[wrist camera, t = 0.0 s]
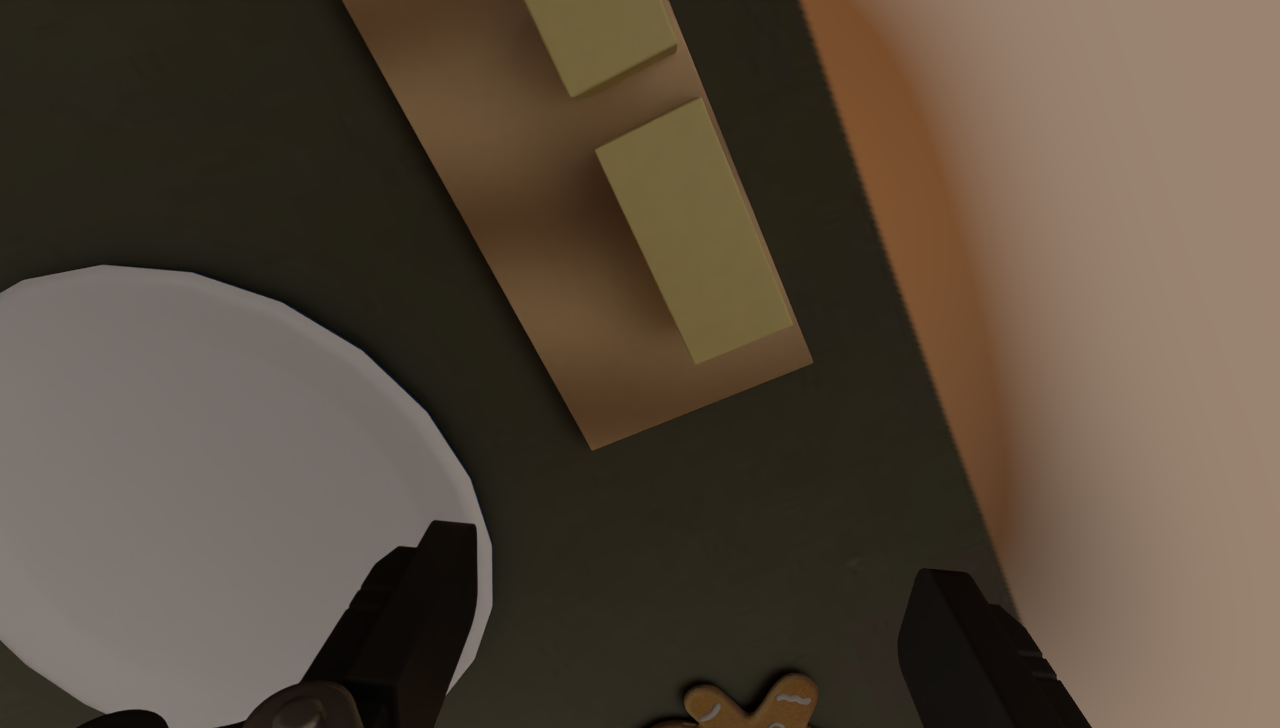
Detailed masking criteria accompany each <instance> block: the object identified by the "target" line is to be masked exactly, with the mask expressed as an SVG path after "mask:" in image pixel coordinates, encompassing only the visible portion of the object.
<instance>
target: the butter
mask: <svg viewBox="0 0 1280 728" xmlns="http://www.w3.org/2000/svg"><path fill="white" fill-rule="evenodd" d="M594 152H595V154H596V156H597V158H598V160H599V163H600V165H601V167H602V169H603V171H604V173H605V175H606V177H607V180H608V182H609V184H610V186H611V188H612V190H613V192H614V195H615V197H616V199H617V201H618V203H619V205H620V207H621V209H622V212H623V214H624V216H625V218H626V220H627V222H628V224H629V226H630V229H631V231H632V233H633V235H634V237H635V239H636V241H637V244H638V246H639V248H640V250H641V252H642V254H643V256H644V258H645V261H646V263H647V265H648V267H649V269H650V271H651V273H652V275H653V278H654V280H655V282H656V284H657V286H658V288H659V290H660V293H661V295H662V297H663V299H664V301H665V303H666V305H667V307H668V310H669V312H670V314H671V316H672V318H673V320H674V322H675V324H676V327H677V329H678V331H679V333H680V335H681V337H682V339H683V342H684V344H685V346H686V348H687V350H688V352H689V354H690V356H691V359H692V361H693V363H694V364H695V365H697V364H700V363H702V362H705V361H707V360H710V359H712V358H714V357H717V356H719V355H722V354H724V353H727V352H729V351H732V350H734V349H736V348H739V347H741V346H744V345H746V344H749V343H751V342H753V341H756V340H758V339H761V338H763V337H766V336H768V335H770V334H773V333H775V332H778V331H780V330H783V329H785V328H787V327H790V326H792V325H793V323H792V320H791V318H790V315H789V313H788V310H787V308H786V305H785V303H784V300H783V298H782V295H781V293H780V291H779V288H778V286H777V283H776V281H775V278H774V276H773V273H772V271H771V268H770V266H769V263H768V261H767V258H766V256H765V253H764V251H763V248H762V246H761V243H760V241H759V239H758V236H757V234H756V231H755V229H754V226H753V224H752V221H751V219H750V216H749V214H748V211H747V209H746V206H745V204H744V201H743V199H742V196H741V194H740V191H739V189H738V186H737V184H736V182H735V179H734V177H733V174H732V172H731V169H730V167H729V164H728V162H727V159H726V157H725V154H724V152H723V149H722V147H721V144H720V142H719V139H718V137H717V134H716V132H715V130H714V127H713V125H712V122H711V120H710V117H709V115H708V112H707V110H706V107H705V105H704V102H703V100H702V98H701V97H694V98H692V99H690V100H688V101H686V102H684V103H682V104H680V105H678V106H676V107H674V108H672V109H670V110H668V111H666V112H664V113H662V114H660V115H658V116H656V117H654V118H652V119H650V120H648V121H646V122H644V123H642V124H640V125H638V126H636V127H634V128H632V129H630V130H628V131H626V132H624V133H622V134H620V135H618V136H616V137H614V138H612V139H610V140H608V141H606V142H604V143H603V144H601V145H600V146H598V147H597V148H596V149H595V150H594Z"/></svg>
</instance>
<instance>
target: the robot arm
mask: <svg viewBox="0 0 1280 728" xmlns="http://www.w3.org/2000/svg"><path fill="white" fill-rule="evenodd" d="M477 596H478V567H477V528H476V525H475V524H471V523H461V522H451V521H440V520H433V521H432V522H431V523H430V525H429V526H428V528H427V530H426V532H425V534H424V535H423V537H422V539H421V541H420V542H419V544H418V546H417V547H407V546H398V547H396V548H395V549H394V550H393V551H391V552H390V553H389V554H387V555H386V556H385V557H383V558H382V559H381V560H379V561H378V562H377V563H375V565H374V566H373V568H372V569H371V571H370V572H369V574H368V576H367V577H366V579H365V580H364V582H363V583H362V585H361V589H360V590H358V591H357V593H356V594H355V596H354V598H353V599H352V601H351V602H350V604H349V608H348V609H346V610H345V612H344V613H343V615H342V617H341V618H340V620H339V621H338V623H337V624H336V626H335V628H334V629H333V631H332V632H331V634H330V635H329V637H328V639H327V640H326V642H325V643H324V645H323V646H322V648H321V650H320V651H319V653H318V654H317V656H316V657H315V659H314V661H313V662H312V664H311V665H310V667H309V668H308V670H307V672H306V673H305V675H304V676H303V678H302V679H301V681H300V682H299V683H297V684H294V685H291V686H289V687H286V688H284V689H282V690H280V691H278V692H276V693H274V694H273V695H271V696H270V697H268V698H267V699H265V700H264V701H263V702H262V703H260V704H259V705H258V706H257V707H256V708H255V709H254V710H253V711H252V713H251V714H250V715H249V716H248V718H247V719H246V720H244V721H241V722H238V723H234V724H230V725H226V726H220V727H215V728H434V725H435V723H436V720H437V717H438V715H439V712H440V709H441V707H442V704H443V701H444V699H445V696H446V693H447V691H448V688H449V686H450V683H451V680H452V678H453V675H454V672H455V670H456V667H457V664H458V662H459V659H460V656H461V654H462V651H463V648H464V646H465V643H466V640H467V638H468V635H469V632H470V630H471V627H472V624H473V620H474V616H475V611H476V605H477ZM898 658H899V664H900V668H901V671H902V674H903V676H904V679H905V681H906V684H907V686H908V689H909V691H910V694H911V696H912V699H913V701H914V704H915V706H916V709H917V711H918V714H919V716H920V719H921V721H922V724H923V726H924V728H1092V727H1091V726H1090V724H1089V723H1088V721H1087V720H1086V718H1085V717H1084V715H1083V714H1082V712H1081V711H1080V709H1079V708H1078V706H1077V705H1076V703H1075V702H1074V700H1073V699H1072V697H1071V696H1070V695H1069V693H1068V691H1067V690H1066V688H1065V687H1064V685H1063V684H1062V682H1061V681H1060V680H1057V678H1056V676H1057V675H1056V673H1055V672H1054V670H1053V669H1052V667H1051V666H1050V665H1049V663H1048V661H1047V660H1046V659H1043V657H1042V652H1041V651H1040V649H1039V648H1038V646H1037V645H1036V643H1035V642H1034V640H1033V639H1032V637H1031V636H1030V634H1029V633H1028V631H1027V630H1026V628H1025V627H1023V626H1022V625H1021V624H1020V623H1019V622H1018V621H1017V620H1015V619H1014V618H1013V617H1012V616H1011V615H1010V614H1009V613H1007V612H1006V611H1005V610H1004V609H1003V608H1002V607H1001V606H999V605H994V604H988V602H987V601H986V599H985V597H984V596H983V594H982V593H981V591H980V589H979V588H978V586H977V585H976V583H975V581H974V580H973V578H972V577H971V576H970V575H969V574H968V573H966V572H958V571H948V570H937V569H927V568H923V569H921V570H920V571H919V572H918V574H917V576H916V578H915V582H914V585H913V588H912V592H911V595H910V598H909V602H908V605H907V608H906V612H905V615H904V619H903V622H902V625H901V629H900V632H899V637H898ZM77 728H169V727H168V725H167V723H166V721H165V720H164V719H163V717H162V716H160V715H158V714H157V713H155V712H152V711H148V710H141V709H130V710H123V711H117V712H113V713H109V714H106V715H103V716H100V717H98V718H95V719H93V720H91V721H89V722H86V723H84V724H82V725H81V726H79V727H77Z"/></svg>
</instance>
